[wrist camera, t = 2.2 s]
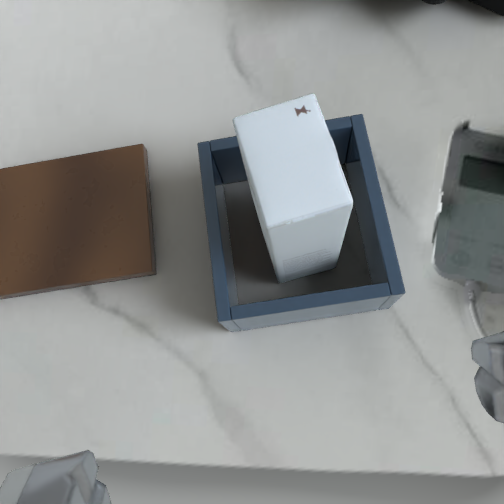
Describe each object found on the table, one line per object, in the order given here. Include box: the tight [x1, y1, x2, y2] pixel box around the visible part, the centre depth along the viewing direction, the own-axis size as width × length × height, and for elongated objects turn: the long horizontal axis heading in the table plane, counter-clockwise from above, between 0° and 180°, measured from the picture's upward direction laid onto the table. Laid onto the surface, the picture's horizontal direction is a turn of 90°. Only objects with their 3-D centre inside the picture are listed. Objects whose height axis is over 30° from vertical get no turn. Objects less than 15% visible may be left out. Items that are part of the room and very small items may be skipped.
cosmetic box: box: [233, 93, 353, 283], centre depth 27 cm, size 6×4×12 cm
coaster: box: [0, 144, 156, 299], centre depth 34 cm, size 12×10×1 cm
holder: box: [198, 114, 405, 332], centre depth 30 cm, size 11×12×5 cm
